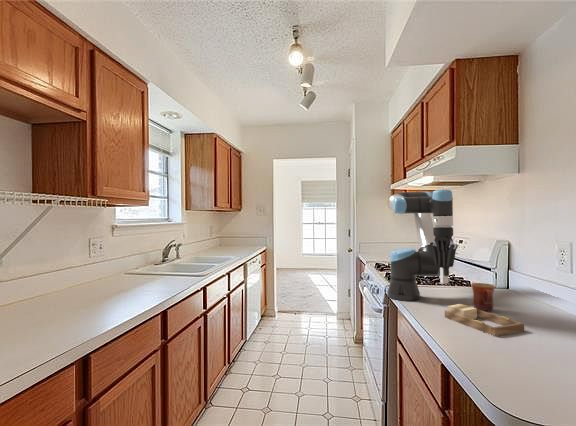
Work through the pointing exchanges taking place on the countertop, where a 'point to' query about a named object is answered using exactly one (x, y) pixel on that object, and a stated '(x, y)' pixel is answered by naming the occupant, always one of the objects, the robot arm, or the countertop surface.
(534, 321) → the countertop surface
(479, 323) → the beam slot
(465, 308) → the block
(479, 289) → the mug
